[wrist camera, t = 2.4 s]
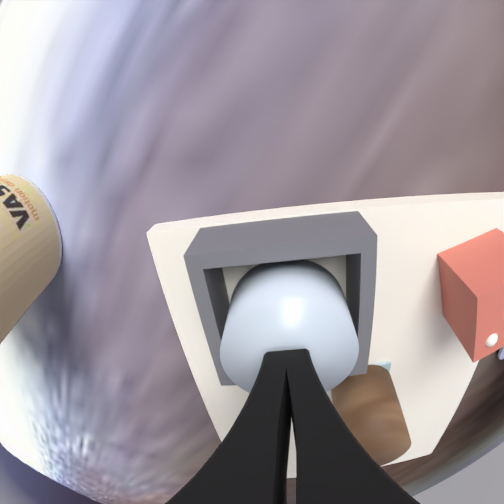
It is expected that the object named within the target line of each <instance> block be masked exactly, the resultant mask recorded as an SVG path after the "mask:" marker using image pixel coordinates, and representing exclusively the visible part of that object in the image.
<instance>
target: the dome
mask: <svg viewBox="0 0 504 504" xmlns="http://www.w3.org/2000/svg"><path fill="white" fill-rule="evenodd" d="M304 348H306V349H307V350H309V352H310V356H311V360H312V363H313V365H314V368H315V370H316V373H317V375H318V377H319V379H320V381H321V383H322V385H323V387H324V389H325V391H326V392H327V391H329V390H331V389H333V388H334V387H336V386H337V385H339V384H340V383H341V382H342V381H343V380H344V379H345V378H346V377H347V376H348V375H349V374H350V372H351V371H352V370H353V368H354V366H355V364H356V361H357V359H358V354H359V343H358V338H357V334H356V331H355V328H354V325H353V322H352V318H351V315H350V312H349V309H348V306H347V303H346V300H345V297H344V294H343V291H342V288H341V286H340V284H339V282H338V281H337V279H336V278H335V277H334V276H333V274H331V273H330V272H329V271H328V270H327V269H325V268H324V267H322V266H321V265H319V264H317V263H315V262H312V261H309V260H305V259H301V260H291V261H281V262H271V263H261V264H259V265H257V266H256V267H254V268H252V269H251V270H250V271H248V272H247V273H246V274H245V275H244V276H243V277H242V278H241V279H240V280H239V282H238V283H237V285H236V287H235V288H234V291H233V293H232V297H231V301H230V305H229V310H228V314H227V319H226V323H225V328H224V332H223V337H222V341H221V346H220V360H221V364H222V367H223V369H224V371H225V373H226V374H227V376H228V377H229V378H230V379H231V380H232V381H233V382H234V383H235V384H236V385H237V386H239V387H240V388H241V389H243V390H245V391H246V392H248V393H250V392H251V390H252V387H253V385H254V383H255V380H256V378H257V375H258V373H259V370H260V367H261V364H262V361H263V357H264V354H265V353H266V352H270V351H283V350H294V349H304Z"/></svg>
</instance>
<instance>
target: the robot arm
mask: <svg viewBox="0 0 504 504" xmlns="http://www.w3.org/2000/svg"><path fill="white" fill-rule="evenodd" d="M498 357H499V359H500V360H501V359H504V347H502V348H500V350H499V353H498ZM291 419H292V424H293V431H294V439H295V446H296V504H420V503H419V502H418V501H416V500H415V499H414V498H413V497H411V496H410V495H409V494H408V493H407V492H406V491H404V490H403V489H402V488H401V487H400V486H399V485H398V484H397V483H396V482H394V481H393V480H392V479H391V478H390V477H389V476H388V475H387V473H386V472H385V471H384V470H383V469H382V468H381V467H380V466H379V465H378V464H377V463H376V462H375V461H374V460H373V459H372V458H371V457H370V455H369V454H368V453H367V452H366V451H365V449H364V448H363V447H362V446H361V444H360V443H359V442H358V441H357V439H356V438H355V437H354V435H353V434H352V433H351V431H350V430H349V429H348V427H347V426H346V424H345V423H344V421H343V420H342V418H341V417H340V415H339V413H338V412H337V410H336V409H335V407H334V405H333V404H332V402H331V400H330V398H329V397H328V395H327V393H326V391H325V389H324V387H323V385H322V383H321V381H320V379H319V377H318V375H317V373H316V370H315V368H314V365H313V363H312V360H311V356H310V352H309V350H307V349H306V348H304V349H294V350H283V351H270V352H266V353H265V354H264V357H263V361H262V364H261V367H260V370H259V373H258V375H257V378H256V380H255V383H254V385H253V387H252V390H251V392H250V394H249V396H248V398H247V400H246V402H245V404H244V406H243V408H242V410H241V412H240V413H239V415H238V417H237V419H236V420H235V422H234V424H233V426H232V427H231V429H230V430H229V432H228V434H227V435H226V437H225V438H224V440H223V441H222V442H221V444H220V445H219V447H218V448H217V449H216V451H215V452H214V453H213V455H212V456H211V457H210V458H209V459H208V461H207V462H206V463H205V464H204V466H203V467H202V468H201V469H200V470H199V471H198V472H197V474H196V475H195V476H194V477H193V478H192V479H191V480H190V481H189V482H188V483H187V484H186V485H185V486H184V487H183V488H182V489H181V490H180V491H179V492H178V493H177V494H175V495H174V496H173V497H172V498H171V499H170V500H169V501H168V502H167V503H165V504H286V481H287V467H288V456H289V445H290V433H291Z"/></svg>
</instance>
